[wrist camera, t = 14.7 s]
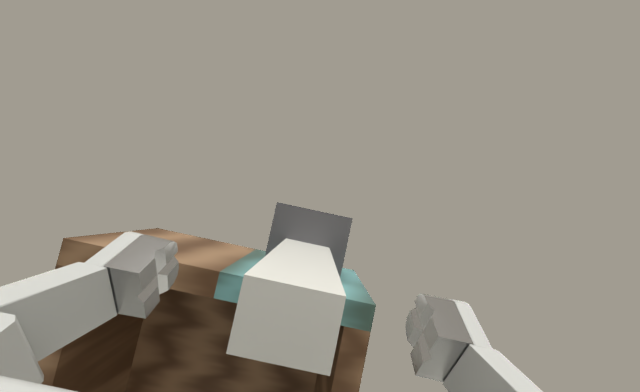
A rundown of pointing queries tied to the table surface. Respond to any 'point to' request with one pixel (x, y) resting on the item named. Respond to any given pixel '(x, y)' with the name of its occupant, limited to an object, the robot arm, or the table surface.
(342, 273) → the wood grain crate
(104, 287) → the robot arm
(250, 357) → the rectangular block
